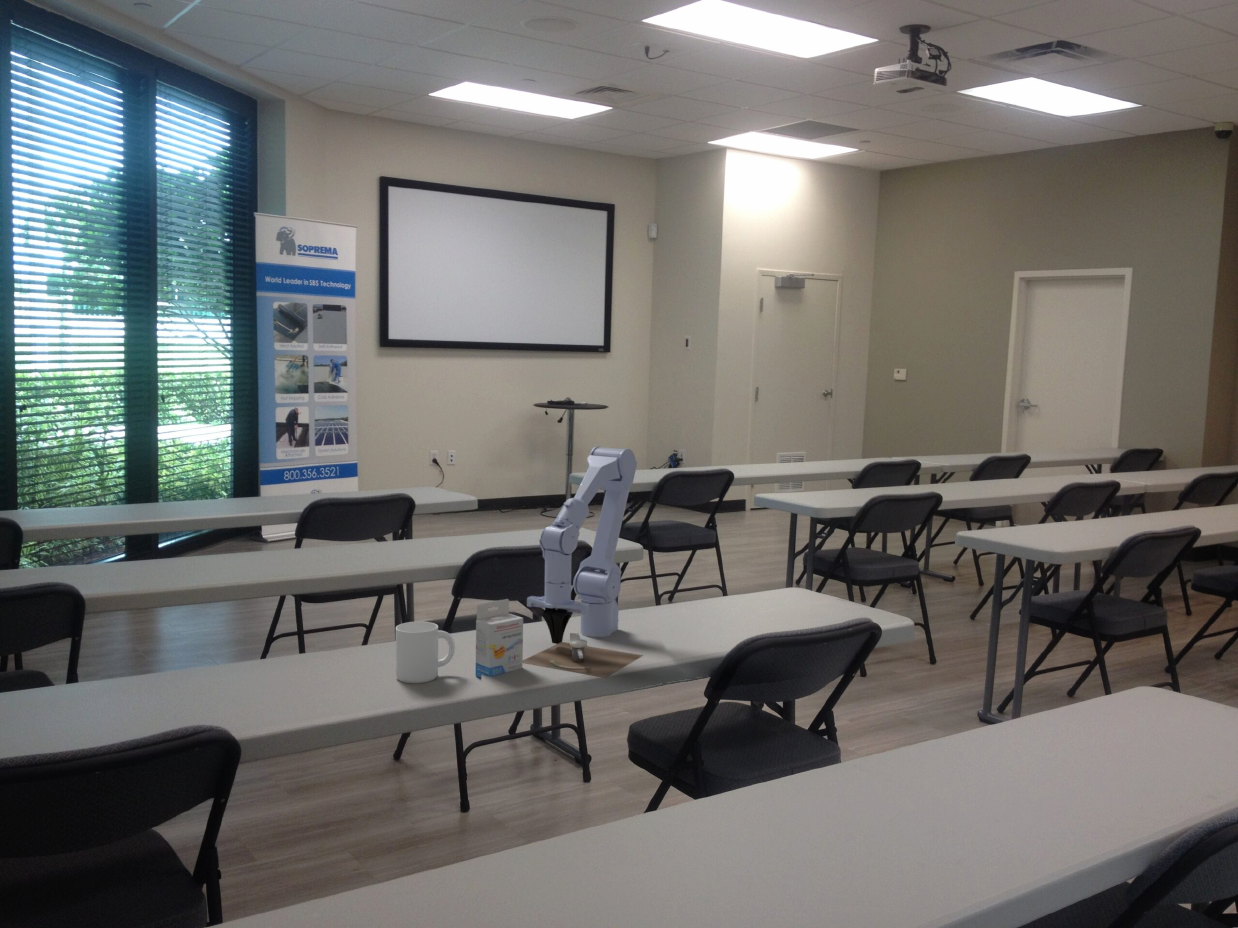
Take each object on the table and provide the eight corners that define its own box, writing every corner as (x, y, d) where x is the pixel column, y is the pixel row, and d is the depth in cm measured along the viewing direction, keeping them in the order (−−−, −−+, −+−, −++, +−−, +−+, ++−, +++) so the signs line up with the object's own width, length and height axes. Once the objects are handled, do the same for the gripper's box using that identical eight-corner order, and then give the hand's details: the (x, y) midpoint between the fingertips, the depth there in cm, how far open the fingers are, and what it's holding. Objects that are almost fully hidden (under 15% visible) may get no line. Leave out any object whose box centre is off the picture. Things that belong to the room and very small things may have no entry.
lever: (589, 668, 200) (590, 649, 200) (572, 668, 200) (572, 649, 199) (582, 647, 215) (582, 629, 214) (565, 648, 214) (565, 630, 214)
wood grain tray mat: (561, 647, 220) (561, 640, 219) (643, 660, 211) (643, 654, 210) (519, 667, 204) (519, 661, 204) (605, 683, 195) (605, 676, 195)
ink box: (490, 682, 194) (490, 609, 193) (474, 676, 198) (475, 604, 196) (523, 673, 200) (524, 602, 199) (508, 667, 204) (508, 597, 202)
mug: (448, 666, 204) (448, 617, 203) (461, 678, 196) (461, 627, 195) (390, 674, 198) (390, 623, 197) (402, 686, 191) (402, 634, 190)
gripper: (519, 580, 214) (518, 641, 215) (578, 588, 207) (577, 651, 208) (536, 574, 220) (536, 634, 221) (594, 582, 213) (593, 643, 215)
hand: (557, 642), depth 215 cm, fingers closed
